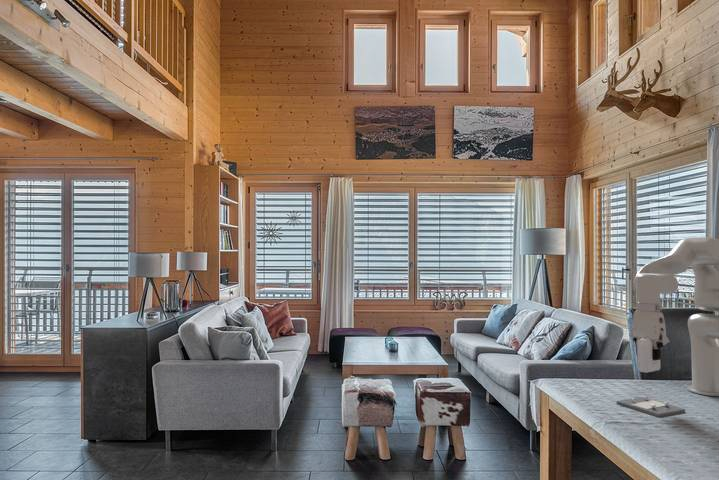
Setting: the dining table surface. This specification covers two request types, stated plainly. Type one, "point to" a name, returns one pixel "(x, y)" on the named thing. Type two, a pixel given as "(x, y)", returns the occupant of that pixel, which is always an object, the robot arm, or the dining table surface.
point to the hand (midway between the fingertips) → (648, 357)
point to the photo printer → (646, 356)
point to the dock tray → (651, 406)
